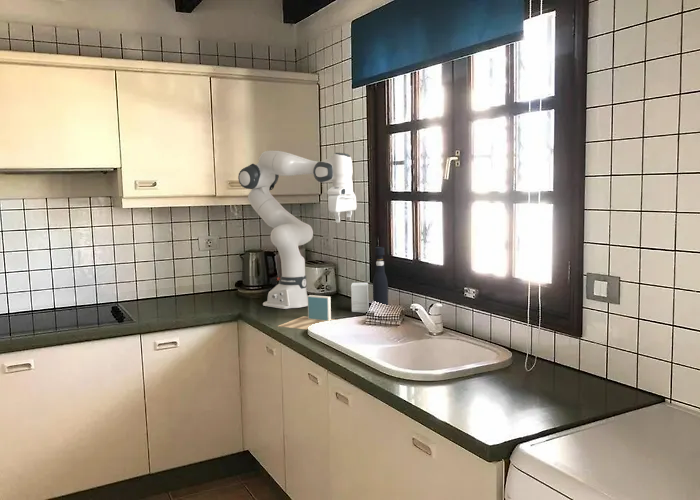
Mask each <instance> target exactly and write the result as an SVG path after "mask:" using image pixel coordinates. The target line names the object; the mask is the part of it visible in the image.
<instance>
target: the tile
mask: <svg viewBox="0 0 700 500" xmlns="http://www.w3.org/2000/svg"><path fill="white" fill-rule="evenodd" d="M307 297H308V306H307V317H308V319H312V320H322V321H330V320H331V319H332V311H331V310H332V308H331V303H332V302H331V299H332V298H331V297H332V296H326V295H313V294H309V295H307Z"/></svg>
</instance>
